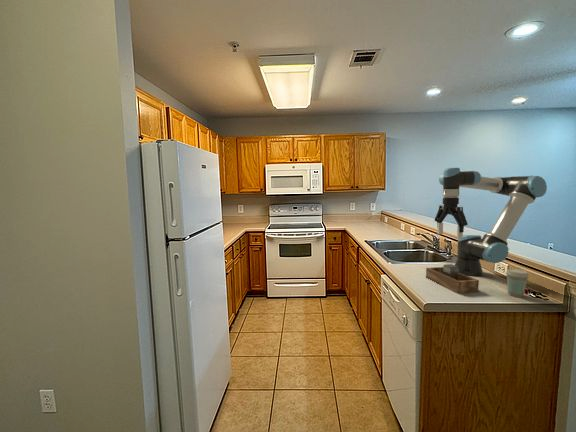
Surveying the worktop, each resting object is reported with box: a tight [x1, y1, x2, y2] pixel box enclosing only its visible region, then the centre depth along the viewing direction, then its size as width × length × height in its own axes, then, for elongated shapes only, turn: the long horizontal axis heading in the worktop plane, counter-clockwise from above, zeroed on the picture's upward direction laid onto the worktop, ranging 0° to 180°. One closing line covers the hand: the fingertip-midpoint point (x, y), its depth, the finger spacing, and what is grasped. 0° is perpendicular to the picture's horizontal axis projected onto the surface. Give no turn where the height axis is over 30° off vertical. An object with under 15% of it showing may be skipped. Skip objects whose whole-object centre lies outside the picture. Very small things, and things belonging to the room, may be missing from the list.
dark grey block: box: [442, 263, 459, 280], centre depth 151 cm, size 5×5×10 cm
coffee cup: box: [505, 268, 530, 298], centre depth 135 cm, size 9×8×12 cm
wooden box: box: [425, 266, 480, 295], centre depth 151 cm, size 11×24×6 cm, turn 10°
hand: (449, 236), depth 152 cm, fingers open, 13 cm apart
